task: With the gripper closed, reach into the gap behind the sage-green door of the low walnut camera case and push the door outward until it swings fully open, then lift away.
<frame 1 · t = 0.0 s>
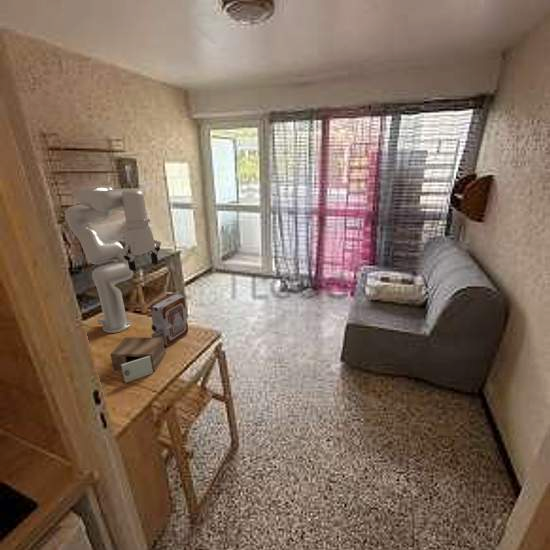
hand: (144, 267, 130), 37 cm above the table, tool pointing down, fingers open, 9 cm apart
cine camera: (168, 341, 148), on the table
camera case: (140, 362, 133), on the table
case door: (138, 369, 122), point 4 cm above the table, hinge at 35.0°
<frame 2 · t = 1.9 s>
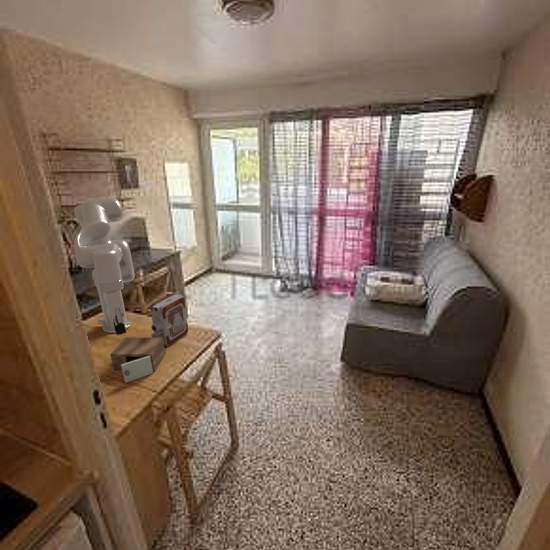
hand: (120, 331, 118), 19 cm above the table, tool pointing down, fingers closed
nothing on the table moved.
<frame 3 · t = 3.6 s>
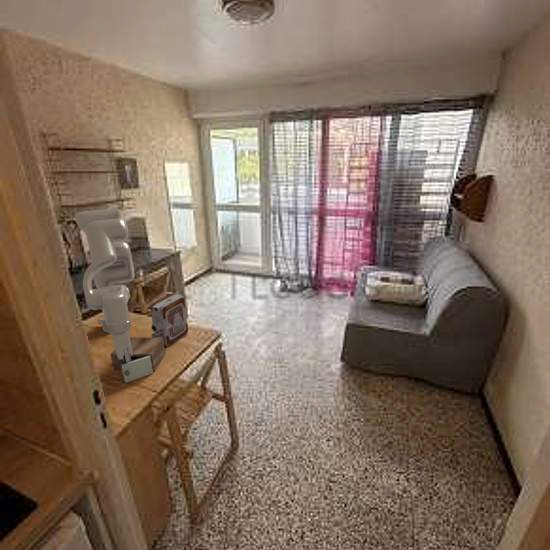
hand: (128, 369, 123), 3 cm above the table, tool pointing down, fingers closed
case door: (138, 369, 122), point 4 cm above the table, hinge at 35.1°, touching gripper
everything else where it was.
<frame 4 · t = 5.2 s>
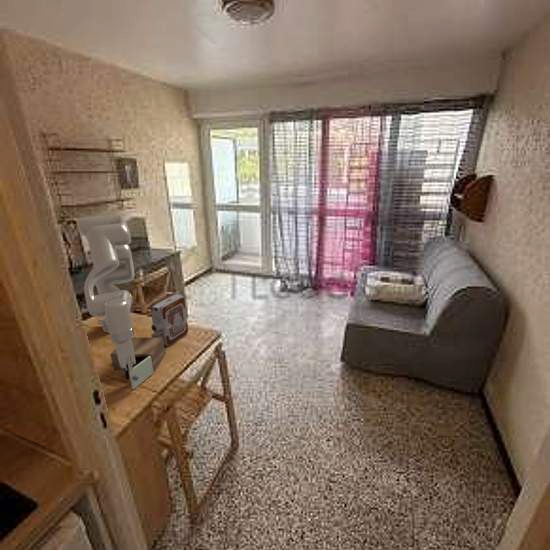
hand: (130, 376, 120), 3 cm above the table, tool pointing down, fingers closed
case door: (143, 372, 120), point 4 cm above the table, hinge at 68.1°, touching gripper
everything else where it was.
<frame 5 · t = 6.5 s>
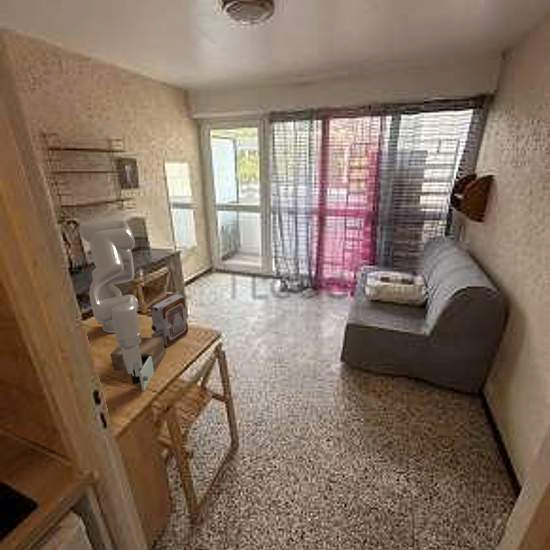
hand: (137, 382, 118), 2 cm above the table, tool pointing down, fingers closed
case door: (148, 372, 120), point 4 cm above the table, hinge at 91.4°, touching gripper
everything else where it was.
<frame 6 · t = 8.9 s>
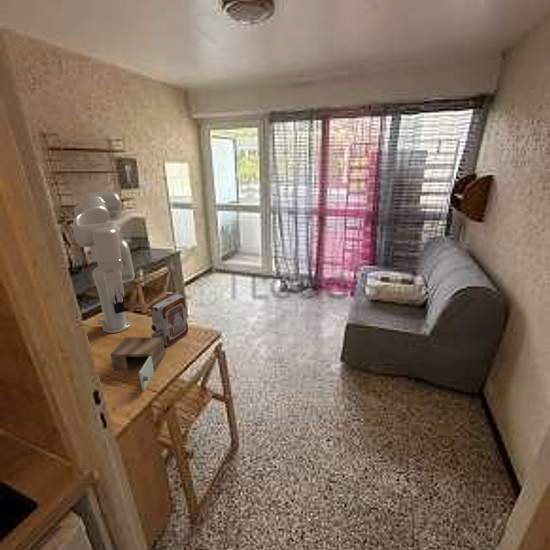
hand: (120, 311, 118), 26 cm above the table, tool pointing down, fingers closed
case door: (148, 372, 120), point 4 cm above the table, hinge at 91.6°
everything else where it was.
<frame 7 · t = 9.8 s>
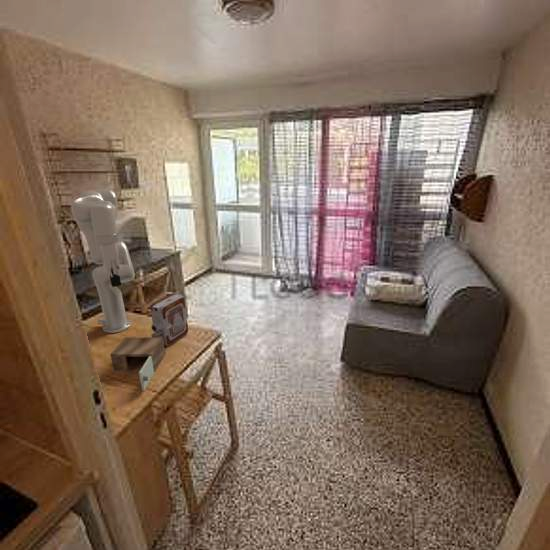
hand: (116, 285, 126), 32 cm above the table, tool pointing down, fingers closed
nothing on the table moved.
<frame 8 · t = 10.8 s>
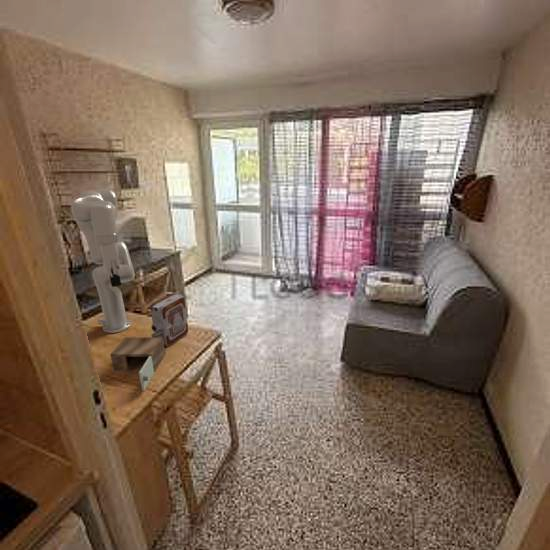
hand: (116, 285, 126), 32 cm above the table, tool pointing down, fingers closed
nothing on the table moved.
at the end: case door at +92° (first picture: +35°); cine camera moved 0.2 cm from its start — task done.
